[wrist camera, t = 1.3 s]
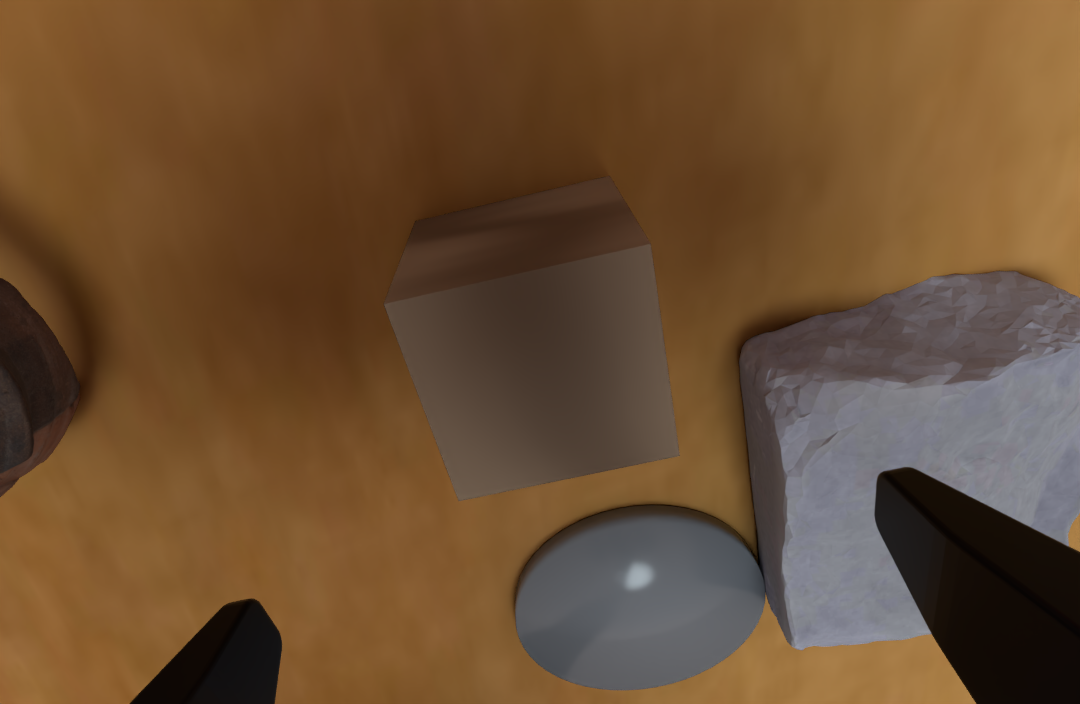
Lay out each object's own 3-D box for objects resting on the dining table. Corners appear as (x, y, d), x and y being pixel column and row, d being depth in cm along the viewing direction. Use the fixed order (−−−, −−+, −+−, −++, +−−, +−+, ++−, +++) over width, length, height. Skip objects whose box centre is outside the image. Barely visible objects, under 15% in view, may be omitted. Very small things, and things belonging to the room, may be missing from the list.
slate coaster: (543, 688, 26) (545, 707, 25) (487, 534, 21) (487, 553, 21) (762, 647, 25) (769, 665, 24) (751, 481, 21) (760, 498, 20)
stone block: (1004, 219, 19) (701, 335, 18) (1185, 278, 15) (805, 432, 14) (964, 494, 25) (738, 591, 24) (1084, 589, 21) (817, 709, 20)
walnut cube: (468, 381, 18) (458, 501, 14) (415, 219, 16) (383, 304, 12) (636, 345, 18) (679, 455, 14) (609, 174, 16) (650, 244, 11)
